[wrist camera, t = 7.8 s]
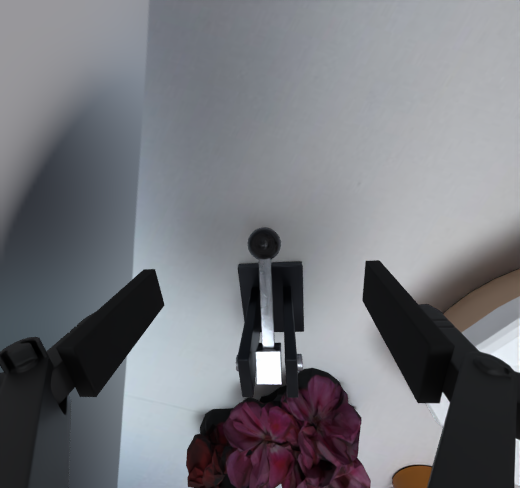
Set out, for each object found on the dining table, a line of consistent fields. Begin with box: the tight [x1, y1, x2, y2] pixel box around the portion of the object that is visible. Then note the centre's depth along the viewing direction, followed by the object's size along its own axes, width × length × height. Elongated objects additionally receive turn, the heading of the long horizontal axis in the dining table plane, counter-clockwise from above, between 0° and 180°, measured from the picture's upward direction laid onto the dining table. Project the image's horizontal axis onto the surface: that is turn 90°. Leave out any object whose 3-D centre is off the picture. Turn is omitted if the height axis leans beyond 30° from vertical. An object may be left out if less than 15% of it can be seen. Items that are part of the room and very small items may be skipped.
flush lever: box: [248, 227, 282, 384], centre depth 23 cm, size 14×3×3 cm, turn 4°
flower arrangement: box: [186, 368, 371, 488], centre depth 34 cm, size 31×20×15 cm, turn 139°
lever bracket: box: [236, 262, 304, 398], centre depth 27 cm, size 10×8×13 cm
